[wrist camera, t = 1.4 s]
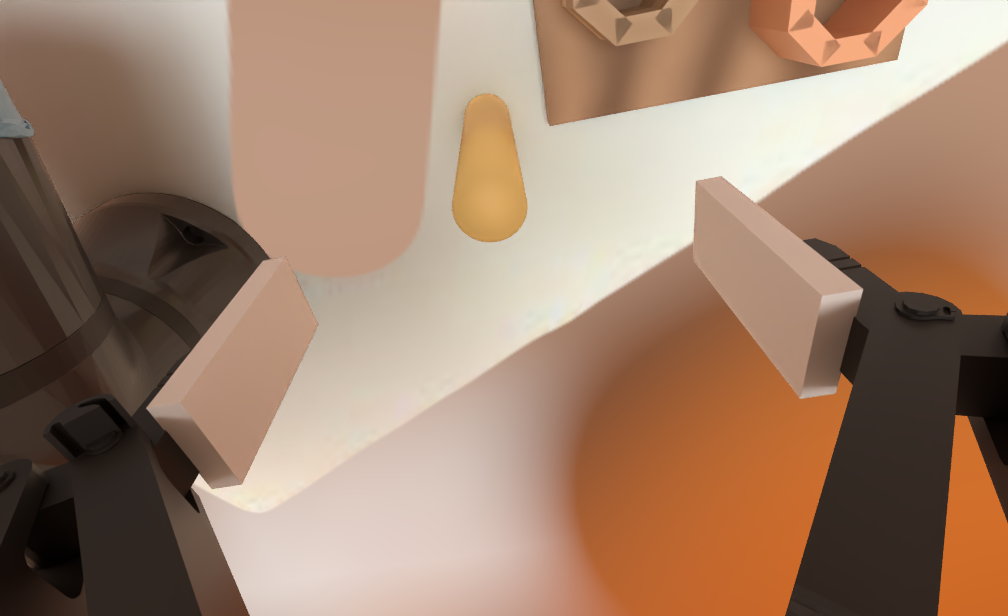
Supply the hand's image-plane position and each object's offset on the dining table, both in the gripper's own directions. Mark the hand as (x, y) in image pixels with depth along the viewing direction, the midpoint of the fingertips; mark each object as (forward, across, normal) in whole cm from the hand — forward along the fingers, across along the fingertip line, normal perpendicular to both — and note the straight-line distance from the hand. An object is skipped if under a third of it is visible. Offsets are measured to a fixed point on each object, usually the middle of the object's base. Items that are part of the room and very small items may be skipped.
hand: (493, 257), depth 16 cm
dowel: (+20, 0, 0) cm, 20 cm away
